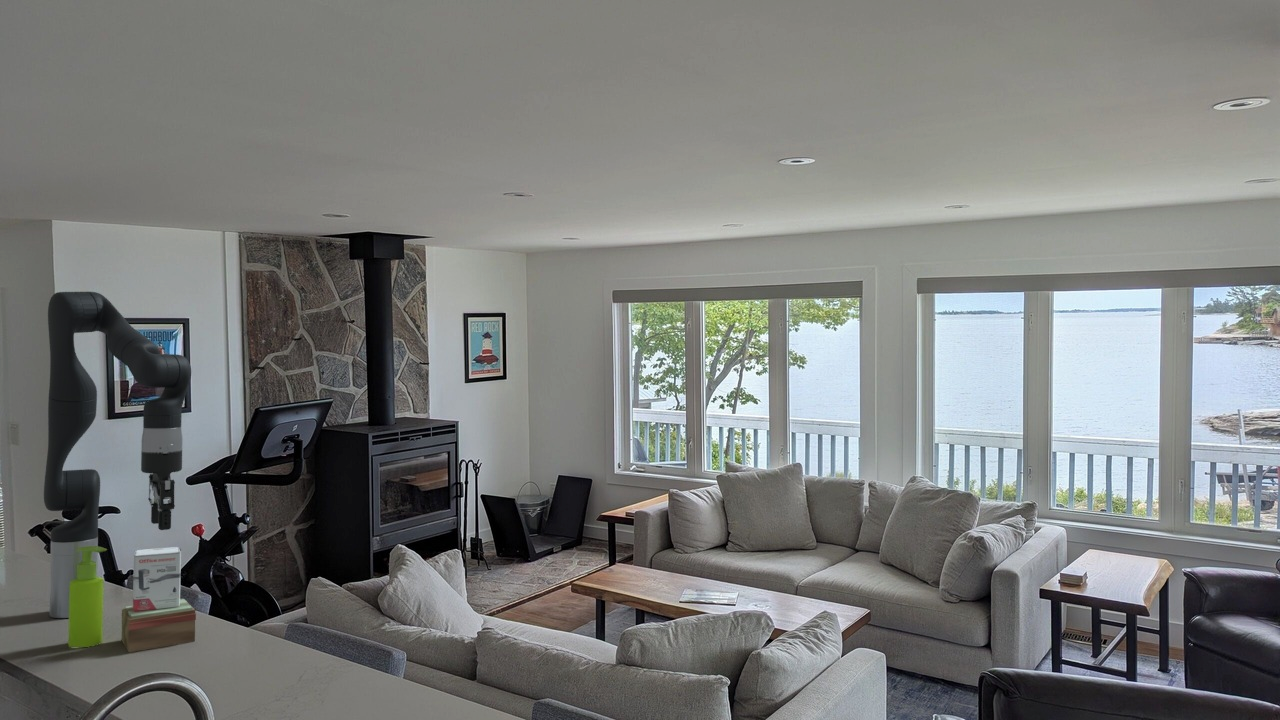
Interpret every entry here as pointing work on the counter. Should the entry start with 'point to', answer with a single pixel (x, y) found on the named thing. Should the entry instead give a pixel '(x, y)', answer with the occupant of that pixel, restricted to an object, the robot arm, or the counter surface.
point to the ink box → (156, 578)
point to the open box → (158, 627)
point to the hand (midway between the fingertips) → (160, 526)
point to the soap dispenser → (86, 602)
